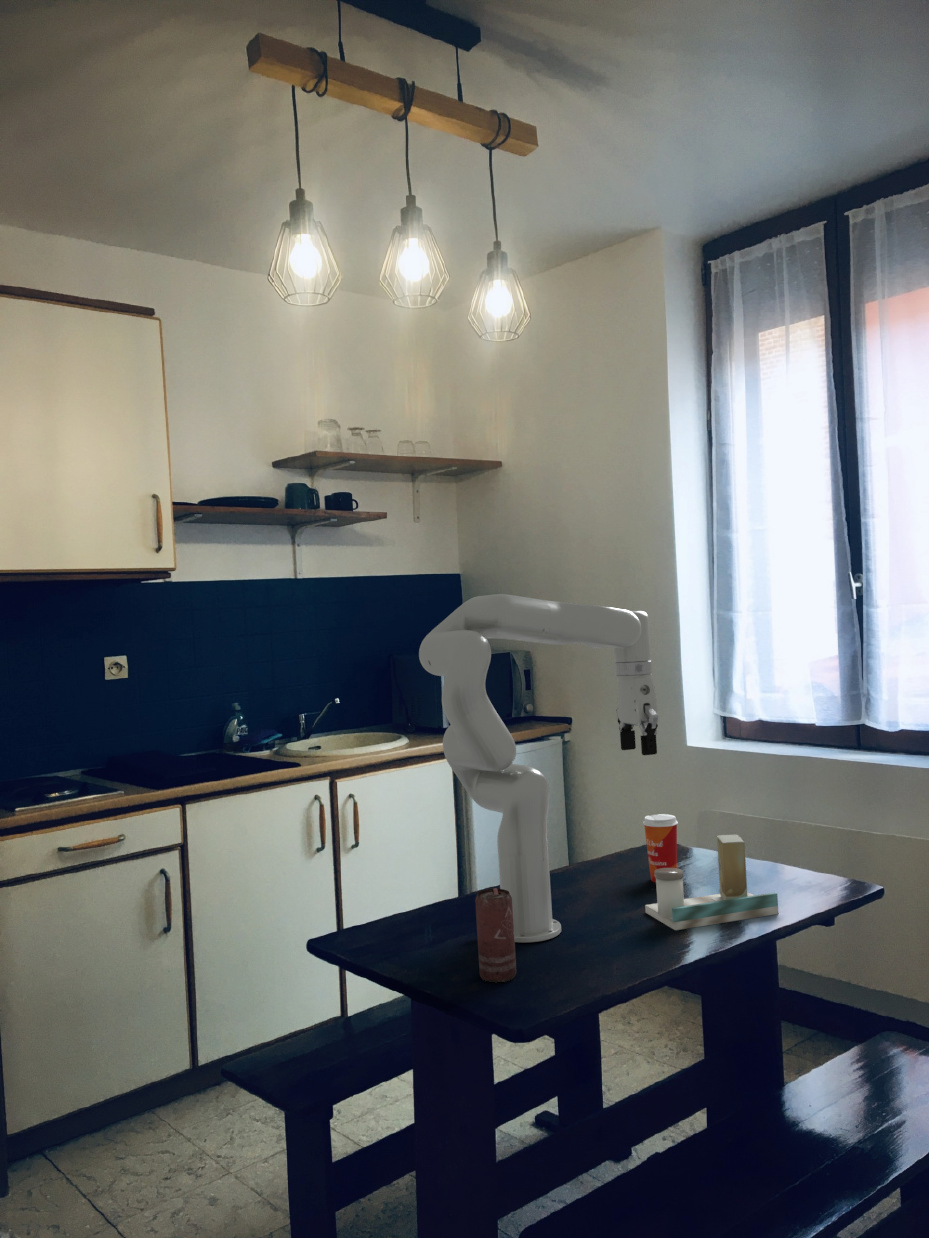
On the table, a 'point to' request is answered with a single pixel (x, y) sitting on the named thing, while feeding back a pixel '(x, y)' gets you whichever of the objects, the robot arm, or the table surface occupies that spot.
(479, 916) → the can
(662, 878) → the cream jar
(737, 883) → the skincare box
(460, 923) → the table surface
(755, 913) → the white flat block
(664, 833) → the paper cup
